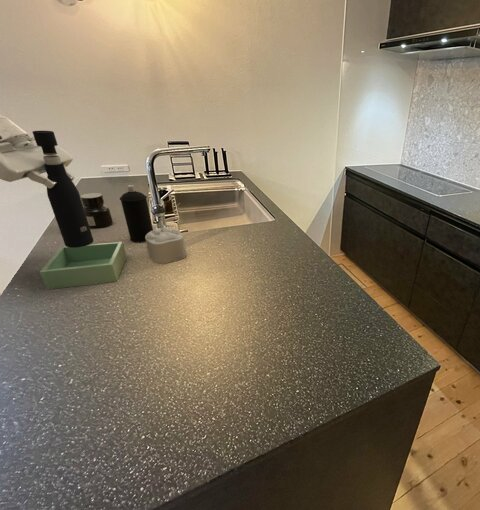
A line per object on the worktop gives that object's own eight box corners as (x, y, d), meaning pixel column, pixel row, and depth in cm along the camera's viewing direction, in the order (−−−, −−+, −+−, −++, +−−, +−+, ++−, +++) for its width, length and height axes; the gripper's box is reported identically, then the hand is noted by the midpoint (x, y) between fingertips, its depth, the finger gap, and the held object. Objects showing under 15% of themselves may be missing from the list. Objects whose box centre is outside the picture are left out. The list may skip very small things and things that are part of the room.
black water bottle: (69, 239, 89) (32, 129, 76) (96, 237, 92) (64, 130, 78) (61, 248, 84) (19, 132, 71) (89, 246, 86) (54, 133, 73)
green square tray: (47, 289, 83) (39, 272, 80) (66, 262, 96) (60, 246, 93) (117, 281, 89) (112, 264, 87) (126, 256, 102) (122, 241, 100)
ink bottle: (84, 222, 124) (75, 193, 118) (110, 218, 129) (102, 191, 124) (87, 230, 117) (78, 200, 112) (115, 226, 123) (107, 197, 118)
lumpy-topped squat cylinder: (156, 265, 98) (150, 241, 95) (144, 251, 107) (139, 227, 103) (189, 257, 105) (185, 233, 101) (176, 243, 113) (172, 222, 109)
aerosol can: (153, 241, 113) (142, 188, 104) (127, 243, 110) (113, 189, 101) (156, 233, 120) (146, 182, 111) (132, 234, 117) (119, 183, 108)
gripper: (34, 144, 85) (82, 181, 90) (-42, 156, 67) (24, 202, 72) (46, 128, 83) (94, 167, 89) (-29, 136, 65) (38, 184, 71)
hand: (62, 183), depth 80 cm, fingers closed on black water bottle, 5 cm apart
